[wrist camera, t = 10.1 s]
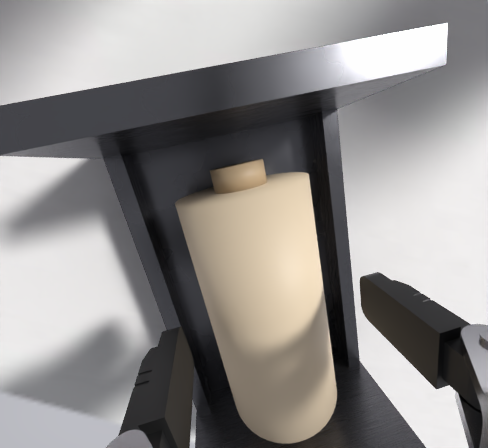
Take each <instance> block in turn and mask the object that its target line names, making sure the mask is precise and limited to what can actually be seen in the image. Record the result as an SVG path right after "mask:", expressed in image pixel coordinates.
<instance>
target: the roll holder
mask: <svg viewBox="0 0 488 448" xmlns="http://www.w3.org/2000/svg"><path fill="white" fill-rule="evenodd" d="M447 29H448V23H444V24H439V25H434V26H428V27H423V28H417V29H412V30H407V31H401V32H396V33H390V34H385V35H380V36H374V37H369V38H363V39H358V40H353V41H347V42H342V43H336V44H331V45H326V46H320V47H315V48H309V49H304V50H299V51H293V52H288V53H282V54H277V55H272V56H266V57H261V58H255V59H250V60H244V61H239V62H234V63H228V64H223V65H217V66H212V67H207V68H201V69H196V70H190V71H185V72H180V73H174V74H169V75H163V76H158V77H153V78H147V79H142V80H136V81H131V82H126V83H120V84H115V85H109V86H104V87H99V88H93V89H88V90H82V91H77V92H72V93H66V94H61V95H55V96H50V97H45V98H39V99H34V100H28V101H23V102H18V103H12V104H7V105H1V106H0V156H20V157H54V158H87V159H104V161H105V164H106V167H107V169H108V172H109V175H110V178H111V180H112V183H113V186H114V188H115V191H116V194H117V196H118V199H119V202H120V204H121V207H122V210H123V213H124V215H125V218H126V221H127V223H128V226H129V229H130V231H131V234H132V237H133V240H134V242H135V245H136V248H137V250H138V253H139V256H140V258H141V261H142V264H143V266H144V269H145V272H146V275H147V277H148V280H149V283H150V285H151V288H152V291H153V293H154V296H155V299H156V302H157V304H158V307H159V310H160V312H161V315H162V318H163V320H164V323H165V326H166V329H167V330H170V329H174V328H177V327H182V329H183V331H184V334H185V336H186V339H187V342H188V345H189V348H190V351H191V353H192V357H193V363H194V380H193V396H192V399H193V401H194V404H195V407H196V409H197V416H196V441H195V448H426V447H425V446H424V444H423V443H422V442H421V440H420V439H419V438H418V437H417V435H416V434H415V433H414V431H413V430H412V429H411V427H410V426H409V425H408V424H407V422H406V421H405V420H404V418H403V417H402V416H401V414H400V413H399V412H398V411H397V409H396V408H395V407H394V405H393V404H392V403H391V401H390V400H389V399H388V397H387V396H386V395H385V394H384V392H383V391H382V390H381V388H380V387H379V386H378V384H377V383H376V382H375V381H374V379H373V378H372V377H371V375H370V374H369V373H368V371H367V370H366V369H365V368H364V366H363V365H362V364H361V362H360V361H359V350H358V339H357V328H356V317H355V306H354V294H353V283H352V272H351V261H350V250H349V239H348V228H347V217H346V205H345V194H344V183H343V172H342V161H341V150H340V139H339V128H338V116H337V109H338V108H341V107H343V106H346V105H348V104H351V103H353V102H356V101H358V100H360V99H363V98H365V97H368V96H370V95H373V94H375V93H378V92H380V91H383V90H385V89H388V88H390V87H392V86H395V85H397V84H400V83H402V82H405V81H407V80H410V79H412V78H415V77H417V76H419V75H422V74H424V73H427V72H429V71H432V70H434V69H437V68H439V67H442V66H444V65H446V62H447ZM258 159H263V162H264V167H265V173H266V175H272V174H279V173H289V172H304V173H308V174H309V180H310V188H311V195H312V203H313V211H314V218H315V226H316V234H317V241H318V249H319V257H320V264H321V272H322V280H323V288H324V295H325V303H326V311H327V318H328V326H329V334H330V341H331V349H332V357H333V364H334V372H335V380H336V387H337V400H336V406H335V409H334V412H333V414H332V416H331V418H330V420H329V421H328V423H327V424H326V425H325V426H324V427H323V428H322V430H321V431H319V432H318V433H317V434H315V435H314V436H312V437H310V438H308V439H306V440H303V441H300V442H296V443H284V444H282V443H275V442H272V441H268V440H266V439H264V438H261V437H259V436H258V435H257V434H255V433H254V432H252V431H251V430H250V429H249V428H248V427H247V426H246V424H245V423H244V422H243V420H242V419H241V417H240V415H239V413H238V410H237V408H236V404H235V401H234V398H233V394H232V391H231V388H230V385H229V381H228V378H227V375H226V371H225V368H224V365H223V361H222V358H221V355H220V351H219V348H218V345H217V342H216V338H215V335H214V332H213V328H212V325H211V322H210V318H209V315H208V312H207V308H206V305H205V302H204V298H203V295H202V292H201V289H200V285H199V282H198V279H197V275H196V272H195V269H194V265H193V262H192V259H191V255H190V252H189V249H188V245H187V242H186V239H185V236H184V232H183V229H182V226H181V222H180V219H179V216H178V212H177V209H176V206H175V202H176V201H178V200H179V199H181V198H183V197H185V196H187V195H190V194H193V193H195V192H198V191H201V190H204V189H208V188H211V187H214V186H213V182H212V178H211V174H210V170H213V169H217V168H221V167H225V166H229V165H233V164H238V163H243V162H247V161H252V160H258Z"/></svg>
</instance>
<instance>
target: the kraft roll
mask: <svg viewBox="0 0 488 448" xmlns="http://www.w3.org/2000/svg"><path fill="white" fill-rule="evenodd" d="M210 174H211V178H212V182H213V186H214V187H211V188H208V189H204V190H201V191H198V192H195V193H193V194H190V195H187V196H185V197H183V198H181V199H179V200H178V201H176V202H175V206H176V209H177V212H178V216H179V219H180V222H181V226H182V229H183V232H184V236H185V239H186V242H187V245H188V249H189V252H190V255H191V259H192V262H193V265H194V269H195V272H196V275H197V279H198V282H199V285H200V289H201V292H202V295H203V298H204V302H205V305H206V308H207V312H208V315H209V318H210V322H211V325H212V328H213V332H214V335H215V338H216V342H217V345H218V348H219V351H220V355H221V358H222V361H223V365H224V368H225V371H226V375H227V378H228V381H229V385H230V388H231V391H232V394H233V398H234V401H235V404H236V408H237V410H238V413H239V415H240V417H241V419H242V420H243V422H244V423H245V424H246V426H247V427H248V428H249V429H250V430H251V431H252V432H254V433H255V434H257V435H258V436H259V437H261V438H264V439H266V440H268V441H272V442H275V443H282V444H284V443H296V442H300V441H303V440H306V439H308V438H310V437H312V436H314V435H315V434H317V433H318V432H319V431H321V430H322V428H323V427H324V426H325V425H326V424H327V423H328V421H329V420H330V418H331V416H332V414H333V412H334V409H335V406H336V400H337V387H336V380H335V372H334V364H333V357H332V349H331V341H330V334H329V326H328V318H327V311H326V303H325V295H324V288H323V280H322V272H321V264H320V257H319V249H318V241H317V234H316V226H315V218H314V211H313V203H312V195H311V188H310V180H309V174H308V173H304V172H289V173H279V174H272V175H266V173H265V167H264V162H263V159H258V160H252V161H247V162H243V163H238V164H233V165H229V166H225V167H221V168H217V169H213V170H210Z"/></svg>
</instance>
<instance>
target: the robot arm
mask: <svg viewBox="0 0 488 448" xmlns="http://www.w3.org/2000/svg"><path fill="white" fill-rule="evenodd" d="M360 293H361V307H362V310H363V313H364V315H365V316H366V318H367V319H368V320H369V322H370V323H371V324H372V325H373V326H374V327H375V328H376V329H377V330H378V331H379V332H380V333H381V334H382V335H383V336H384V337H385V338H386V339H387V340H388V341H389V342H390V343H391V344H392V345H393V346H394V347H395V348H396V349H397V350H398V351H399V352H400V353H401V354H402V355H403V356H404V357H405V358H406V359H407V360H408V361H409V362H410V363H411V364H412V365H413V366H414V367H415V368H416V369H417V370H418V371H419V372H420V373H421V374H422V375H423V376H424V377H425V378H426V379H427V380H428V381H429V382H430V383H431V384H432V385H433V386H434V387H435V388H436V389H439V388H442V387H445V386H448V385H450V386H451V387H452V388H453V389H454V390H455V391H456V393H455V398H456V402H457V405H458V409H459V413H460V416H461V420H462V424H463V427H464V431H465V435H466V438H467V442H468V446H469V448H488V325H482V324H472V325H471V324H469V323H468V322H466V321H465V320H463V319H461V318H460V317H458V316H457V315H455V314H453V313H452V312H450V311H449V310H447V309H446V308H444V307H442V306H441V305H439V304H438V303H436V302H435V301H433V300H430V298H428V297H427V296H425V295H424V294H421V293H420V292H419V291H417V290H416V289H414V288H412V287H411V286H409V285H407V284H404V283H401V282H398V281H396V280H393V281H392V280H390V279H389V278H387V277H386V276H384V275H383V274H381V273H379V272H377V273H373V274H370V275H366V276H362V277H361V278H360ZM193 380H194V363H193V357H192V353H191V351H190V348H189V345H188V342H187V339H186V336H185V334H184V331H183V329H182V327H177V328H174V329H170V330H166V331H163V332H162V334H161V338H160V341H159V345H158V347H155V348H151V349H150V351H149V352H148V353H147V355H146V356H145V358H144V359H143V361H142V363H141V366H140V370H139V373H138V376H137V379H136V382H135V387H134V389H133V392H132V395H131V398H130V401H129V404H128V407H127V411H126V414H125V417H124V420H123V423H122V426H121V430H120V433H119V435H118V437H116V438H115V439H114V440H113V441H112V442H111V443H110V444H109V445H108V446H107V447H106V448H189V446H190V429H191V413H192V396H193Z"/></svg>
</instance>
